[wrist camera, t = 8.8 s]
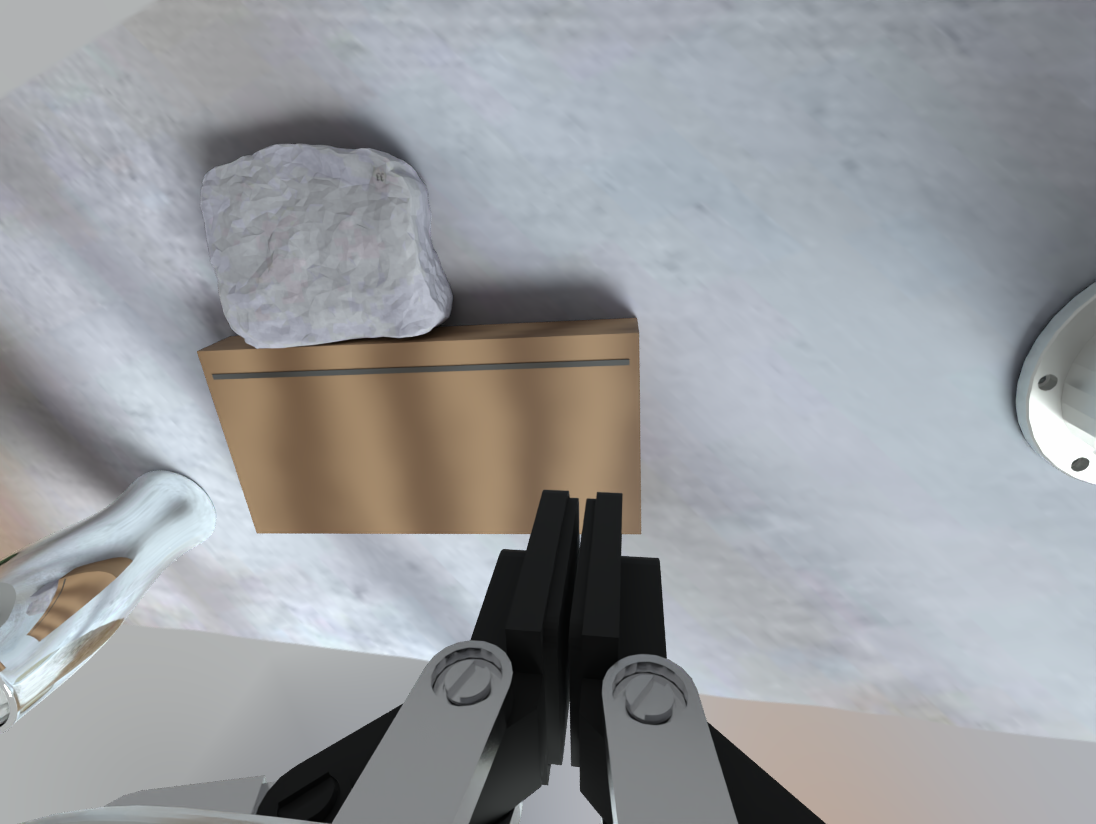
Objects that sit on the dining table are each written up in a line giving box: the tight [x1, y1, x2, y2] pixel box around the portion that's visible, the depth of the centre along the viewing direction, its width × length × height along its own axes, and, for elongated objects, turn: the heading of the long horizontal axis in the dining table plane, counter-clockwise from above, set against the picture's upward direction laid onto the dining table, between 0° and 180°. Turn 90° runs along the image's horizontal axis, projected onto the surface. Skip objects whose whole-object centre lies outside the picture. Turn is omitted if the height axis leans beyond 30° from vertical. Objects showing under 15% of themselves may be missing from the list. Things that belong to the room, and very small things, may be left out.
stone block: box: [200, 144, 453, 349], centre depth 30 cm, size 12×5×10 cm
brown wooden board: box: [197, 318, 641, 534], centre depth 33 cm, size 24×12×3 cm, turn 94°
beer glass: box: [0, 470, 216, 734], centre depth 33 cm, size 7×7×15 cm
